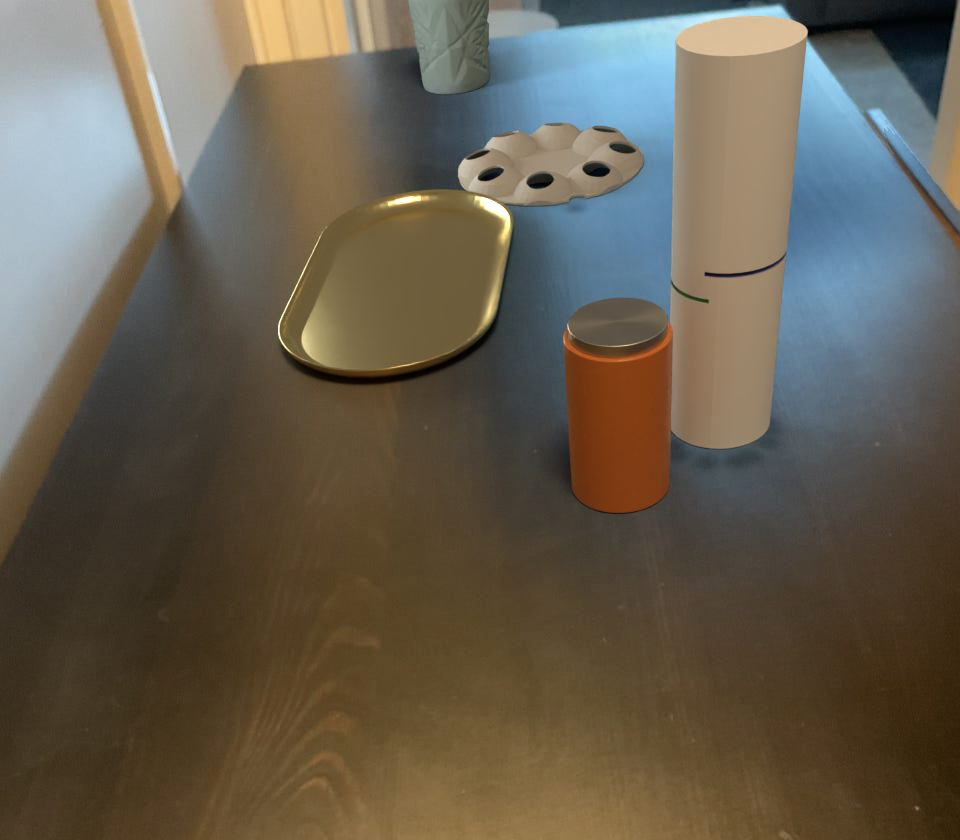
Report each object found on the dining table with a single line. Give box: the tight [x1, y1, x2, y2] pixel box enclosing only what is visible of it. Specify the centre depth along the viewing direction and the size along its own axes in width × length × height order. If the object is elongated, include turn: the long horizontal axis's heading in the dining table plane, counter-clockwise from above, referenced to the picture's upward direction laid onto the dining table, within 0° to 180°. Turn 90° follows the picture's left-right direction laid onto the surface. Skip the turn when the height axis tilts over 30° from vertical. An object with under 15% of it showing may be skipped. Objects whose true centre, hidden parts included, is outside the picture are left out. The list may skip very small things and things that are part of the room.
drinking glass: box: [407, 0, 490, 95], centre depth 133 cm, size 10×10×12 cm
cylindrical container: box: [669, 15, 809, 450], centre depth 69 cm, size 7×7×25 cm
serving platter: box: [277, 188, 515, 379], centre depth 97 cm, size 19×35×2 cm, turn 174°
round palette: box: [457, 122, 645, 207], centre depth 114 cm, size 20×20×2 cm
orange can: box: [563, 297, 673, 514], centre depth 69 cm, size 7×7×12 cm
